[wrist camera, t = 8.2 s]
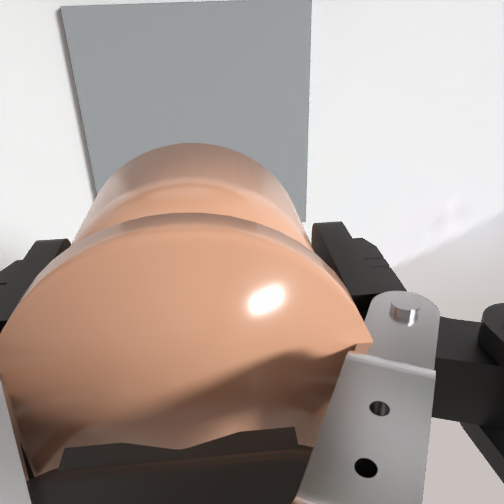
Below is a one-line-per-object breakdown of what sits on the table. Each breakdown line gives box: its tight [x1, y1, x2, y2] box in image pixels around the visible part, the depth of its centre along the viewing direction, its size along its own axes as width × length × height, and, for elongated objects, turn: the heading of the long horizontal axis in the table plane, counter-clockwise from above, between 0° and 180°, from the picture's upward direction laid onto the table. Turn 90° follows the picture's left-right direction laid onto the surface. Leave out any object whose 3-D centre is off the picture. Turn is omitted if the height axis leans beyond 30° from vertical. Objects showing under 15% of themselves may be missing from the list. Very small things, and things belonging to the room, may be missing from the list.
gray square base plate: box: [60, 0, 312, 222], centre depth 26 cm, size 12×12×1 cm
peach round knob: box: [0, 143, 373, 475], centre depth 11 cm, size 7×7×6 cm
